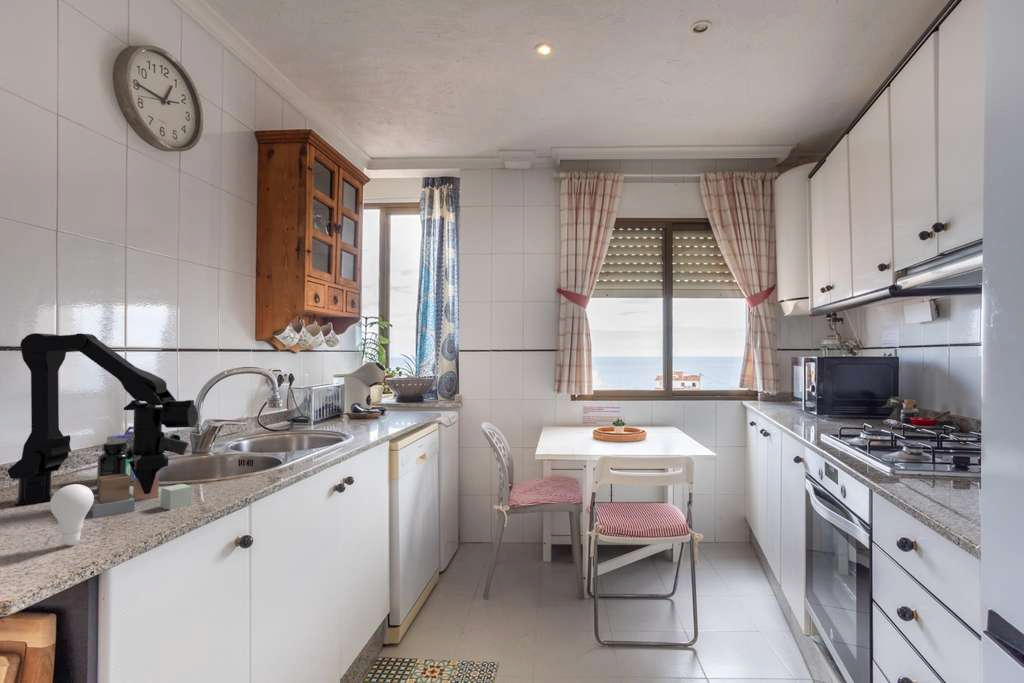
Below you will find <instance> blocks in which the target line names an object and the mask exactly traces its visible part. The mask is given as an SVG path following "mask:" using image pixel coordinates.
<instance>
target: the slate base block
mask: <svg viewBox="0 0 1024 683" xmlns="http://www.w3.org/2000/svg"><path fill="white" fill-rule="evenodd" d="M135 501H136V500H135V499H134V497H133V494H131V493H129V500H123V501H117V502H110V503H104V504H100V502H99V500H98V497H97V498H94V501H93V504H92V506H91V508H90V511H92V512H91V515H92V517H93V519H97V518H102V517H108V516H109V515H110V516H113V515H114V516H115V514H116V515H121V513H122V514H126V512H128V513H134V512H135ZM133 511H134V512H133Z"/></svg>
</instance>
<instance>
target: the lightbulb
mask: <svg viewBox="0 0 1024 683" xmlns="http://www.w3.org/2000/svg"><path fill="white" fill-rule="evenodd" d="M94 499H95V496H94V493H93V491H92V490H91V489H90V488H89V487H88V486H86V485H83V484H80V483H79V484H78V483H77V484H76V483H75V484H69V485H66V486H63V487H62V488H60V489H58V490H57V491H56V492H55V493H54V494H53V496H52V498H51V501H49V509H50V511H51V513H52V515H53V516H54V517H55V519H56V520H57V522H58V526H59V532H60V533H61V536H60V537H61V543H62V544H63V545H66V546H68V547H70V546H74V545H75V544H76V543H78V542H79V541H80V540H81V532H82V529H83V525H84V522H85V519H86V516H87V514H88V513H89V511H91V506H92V504H93V501H94Z"/></svg>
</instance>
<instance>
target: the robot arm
mask: <svg viewBox="0 0 1024 683" xmlns="http://www.w3.org/2000/svg"><path fill="white" fill-rule="evenodd" d="M19 347H20V352H21V356H22V360H23V362H24V363H25V366H27V368H28V369H29V371H30V406H31V407H30V408H31V409H30V411H31V413H30V416H31V418H30V420H31V421H30V423H31V426H30V427H31V429H30V433H29V435H28V437H27V439H26V441H25V442H24V444H23V446H22V447H23V448H22V454H21V458H20V459H19V460H18V461H17V462H15V464H13V465H12V466H11V467H10V468H8V470H7V473H8V475H9V478H10V480H16V479H18V483H17V484H18V485H17V497H16V498H15V502H14V506H22V505H29V504H36V503H43V502H50V501H51V498H52V496H53V495H54V494H53V493H51V492H52V473H53V472H57V471H59V470H60V467H61V466H62V463H63V462H65V461H66V460H67V459H68V456H69V453H71V452H72V449H71V435H69V434H68V435H63V433H62V431H61V430H60V422H59V421H60V418H59V416H60V415H59V414H60V413H59V370H60V368H61V366H62V365H63V363H64V361H65V359H66V355H67V353H70V352H73V353H74V352H80V353H82V355H84V356H86V357H87V358H88V359H90V360H91V361H92V362H93V363H95V364H96V365H97V366H100V367H101V369H103V370H105V371H106V372H108V373H109V374H110V375H111V376H113V377H114V378H116V379H117V380H118V381H119V382H120V383H121V385H122V387H123V389H124V390H125V392H126V393H128V395H130V397H131V398H133V400H131V401H130V402H129V403H128V404H127V405H126V406H124V407H123V410H124V411H133V426H132V427H133V429H132V431H131V432H132V437H133V447H131V448H130V449H128V450H127V459H131V458H132V457H133V461H129V464H130V466H131V468H132V470H133V472H134V475H135V477H136V478H138V480H139V482H140V485H141V487H142V489H143V492H144V494H150V492H151V489H152V486H153V482H154V479H155V476H157V473H158V472H159V471H160V470H161V469H163V468H165V467H168V466H169V457H168V456H167V455H165V452H168V453H169V452H170V453H174V454H177V455H180V456H185V452H186V450H187V448H188V446H189V442H187V441H186V440H184V439H183V440H181V436H180V435H179V434H175V433H172V434H170V435H169V436H165V432H164V431H162V428H163V426H164V427H165V428H167V429H169V428H170V429H173V428H174V429H177V428H194V427H195V426H196V425H197V422H198V418H199V412H198V411H197V407H196V405H195V400H193V399H188V400H187V399H186V400H177V399H176V398H175V397H174V395H173V394H172V393H171V391H169V390H168V388H167V382H166V380H165V379H163V378H161V377H159V376H158V375H155V374H154V373H152V372H149V371H146V370H144V369H141V368H138V367H136V366H135V365H134V364H132V363H131V362H130V361H128V360H126V358H124V357H122V356H121V355H120V354H118V353H117V352H116V351H114V350H113V349H112V348H110V347H109V346H107V345H106V344H105V343H104V342H102V341H101V340H100V339H99V338H98V337H97V336H95V335H94V334H92V333H82V332H81V333H80V332H79V333H75V334H65V335H61V334H60V335H58V334H52V333H39V332H38V333H36V332H35V333H30V334H28V335H26V336H25V337H24V338H22V339H21V342H20V345H19Z"/></svg>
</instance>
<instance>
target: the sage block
mask: <svg viewBox="0 0 1024 683" xmlns="http://www.w3.org/2000/svg"><path fill="white" fill-rule="evenodd" d="M160 489H161V490H160V508H162V507H163V508H162V509H164V508H166V509H165V510H167V509H169V510H168V511H173V510H172V509H174V510H177V509H176V508H179V509H181V508H180V507H183V508H185V507H184V506H188V507H191V506H190V505H192V500H193V486H192V485H189V484H184V483H178V484H175V485H170V486H169V485H168V486H164V487H161V488H160Z"/></svg>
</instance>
